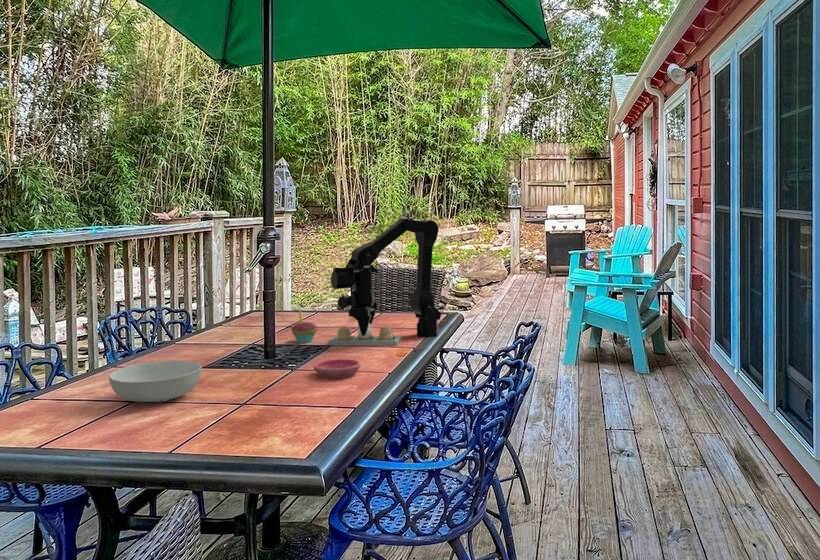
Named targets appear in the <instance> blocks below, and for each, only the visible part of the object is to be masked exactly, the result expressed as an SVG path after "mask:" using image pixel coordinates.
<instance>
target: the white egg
mask: <svg viewBox="0 0 820 560" xmlns="http://www.w3.org/2000/svg"><path fill="white" fill-rule="evenodd" d="M372 329H373V328H372V324H370V323H369V325H368V329H367V332H366V335H365V336H362V334H361V331H360V328H359V324H358V325H357V330H358V331H357V333H358V334H357V336H358V338H360V339H367V338H372V336H373V335H372V334H373V332H372V331H373V330H372Z"/></svg>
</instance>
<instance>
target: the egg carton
mask: <svg viewBox="0 0 820 560" xmlns="http://www.w3.org/2000/svg"><path fill="white" fill-rule="evenodd" d="M327 341H328V346H379V347H380V346H381V347H382V346H389V347H391V346H393V347H394V346H398V345H399V344H400V343H401V341H402V335H393V340H380V338H379V335H372V338H367V339H360V338H358V335H351V340H338V337H337V335H334V336H333V337H331V339H329V340H327Z"/></svg>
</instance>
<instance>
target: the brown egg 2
mask: <svg viewBox="0 0 820 560" xmlns="http://www.w3.org/2000/svg"><path fill="white" fill-rule="evenodd" d="M378 332H379V333H378V334H379V335H378V336H379V338H380V340H393V336H394V331H393V329H392V328H391V327H390V326H387V325H385V326H383V327H381V328H380V329H379V331H378Z"/></svg>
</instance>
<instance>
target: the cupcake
mask: <svg viewBox="0 0 820 560" xmlns="http://www.w3.org/2000/svg"><path fill="white" fill-rule="evenodd" d="M298 315H299V322H298V323H296V324H295V325H293V326H292V327H291V329H290V330H291V334H292V335H293V336H294V338H295V339H296V342H297V343H298V344H307V343H312V342H313V340H314V337H315V334H316V333H318V326H317V325H316V324H315V323H312V322H308V321H305V322H304V321H303V318H302V317H303V316H302V311H301V309H300V307H298Z"/></svg>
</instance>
